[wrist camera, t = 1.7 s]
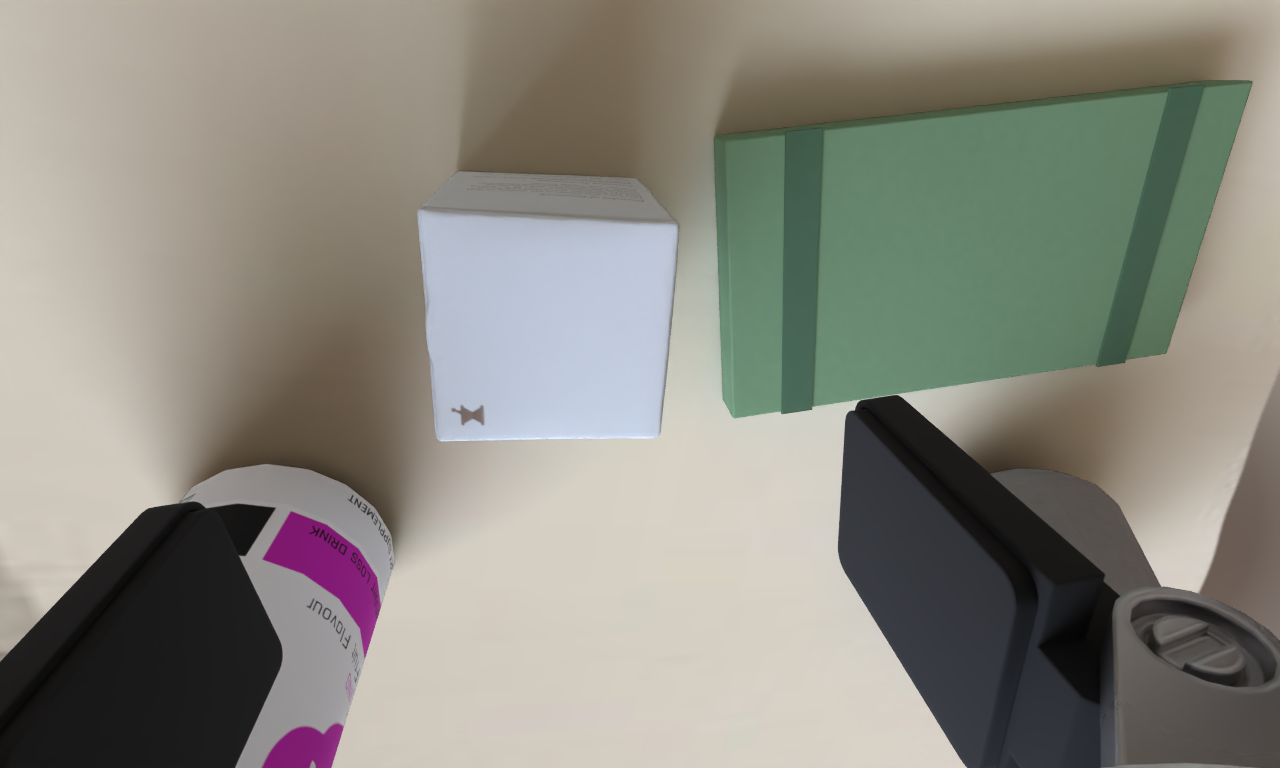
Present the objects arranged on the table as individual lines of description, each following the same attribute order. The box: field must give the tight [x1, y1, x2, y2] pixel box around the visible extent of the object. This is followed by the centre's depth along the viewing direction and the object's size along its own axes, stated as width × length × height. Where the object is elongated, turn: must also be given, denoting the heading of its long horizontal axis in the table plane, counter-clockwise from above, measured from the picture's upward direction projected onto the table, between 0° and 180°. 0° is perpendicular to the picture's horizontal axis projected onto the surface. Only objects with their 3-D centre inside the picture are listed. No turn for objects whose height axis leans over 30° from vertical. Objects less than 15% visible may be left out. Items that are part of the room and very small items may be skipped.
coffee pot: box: [990, 468, 1161, 596], centre depth 26 cm, size 21×12×15 cm, turn 15°
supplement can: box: [178, 464, 395, 768], centre depth 19 cm, size 8×8×15 cm
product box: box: [417, 171, 679, 442], centre depth 19 cm, size 6×6×7 cm
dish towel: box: [714, 80, 1252, 418], centre depth 23 cm, size 10×18×2 cm, turn 95°
